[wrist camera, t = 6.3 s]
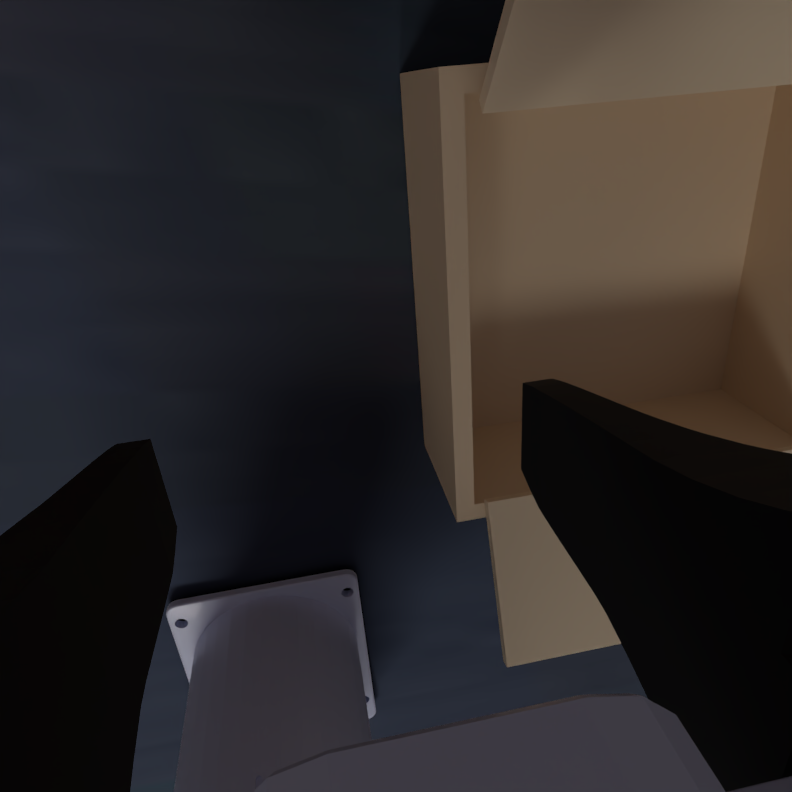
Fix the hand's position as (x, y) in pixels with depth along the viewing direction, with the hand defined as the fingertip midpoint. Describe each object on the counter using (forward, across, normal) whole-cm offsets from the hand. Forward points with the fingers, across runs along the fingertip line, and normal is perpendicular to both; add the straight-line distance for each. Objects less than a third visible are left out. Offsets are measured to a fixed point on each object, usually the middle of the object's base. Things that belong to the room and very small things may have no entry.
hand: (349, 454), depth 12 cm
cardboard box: (+10, -10, 0) cm, 14 cm away
